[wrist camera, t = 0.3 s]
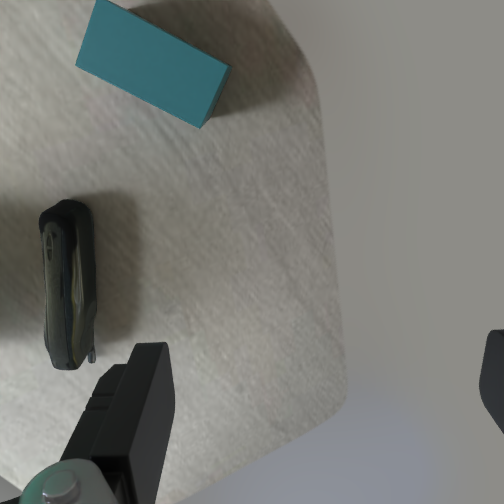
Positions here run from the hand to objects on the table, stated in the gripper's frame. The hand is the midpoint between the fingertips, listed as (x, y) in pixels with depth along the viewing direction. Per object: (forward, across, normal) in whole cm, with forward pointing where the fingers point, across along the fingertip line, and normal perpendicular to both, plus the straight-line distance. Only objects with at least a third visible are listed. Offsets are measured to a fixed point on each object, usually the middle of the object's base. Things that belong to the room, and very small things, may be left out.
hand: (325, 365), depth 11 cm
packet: (+25, +7, -7) cm, 27 cm away
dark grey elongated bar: (+25, +17, +9) cm, 31 cm away
